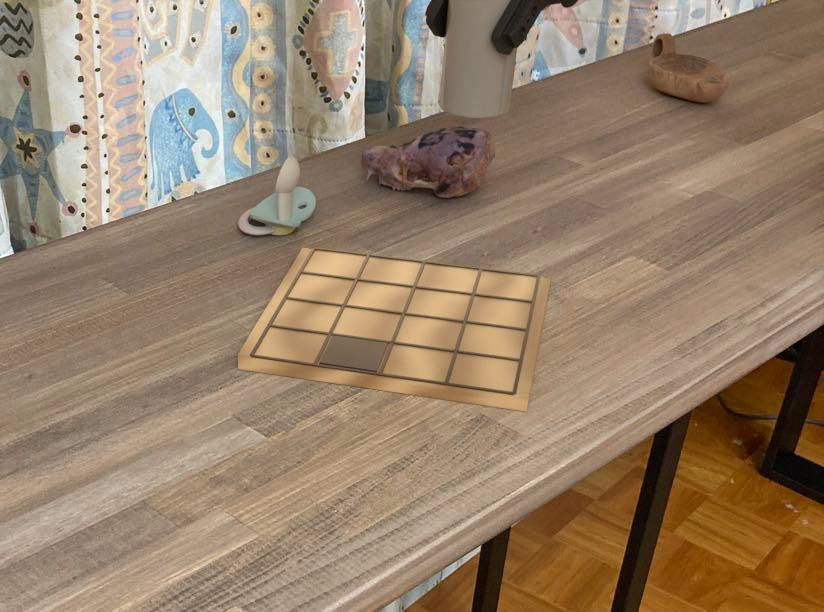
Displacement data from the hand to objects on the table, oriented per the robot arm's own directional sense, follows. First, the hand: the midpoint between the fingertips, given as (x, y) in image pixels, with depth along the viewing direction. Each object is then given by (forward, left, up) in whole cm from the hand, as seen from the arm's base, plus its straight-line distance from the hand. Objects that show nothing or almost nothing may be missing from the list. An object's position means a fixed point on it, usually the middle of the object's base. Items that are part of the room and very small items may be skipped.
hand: (466, 37), depth 79 cm
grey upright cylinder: (-1, -2, -5) cm, 6 cm away
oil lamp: (-19, -53, -18) cm, 59 cm away
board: (+1, +10, -18) cm, 21 cm away
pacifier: (+15, -5, -18) cm, 24 cm away
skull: (+4, -18, -18) cm, 26 cm away
